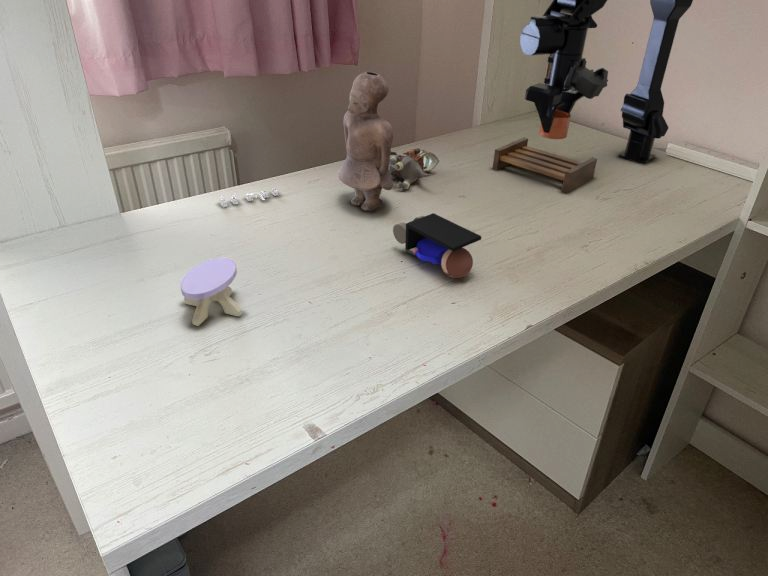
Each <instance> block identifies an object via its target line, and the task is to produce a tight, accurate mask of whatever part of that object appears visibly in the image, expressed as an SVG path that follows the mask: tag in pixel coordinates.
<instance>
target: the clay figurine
mask: <svg viewBox="0 0 768 576" xmlns="http://www.w3.org/2000/svg"><path fill="white" fill-rule="evenodd" d="M388 93H389V84H388V82H387V80H386V79H385V78H384V77H383V76H382V75H381V74H379V73H377V72H374V71H365V72H362V73H360V74H358V75H357V76H356V77H355V78H354V80H353V82H352V87H351V90H350V92H349V99H348V100H349V103H348V107H347V111H346V112H345V113H344V116H343V121H342V122H343V130H344V131H343V133H344V140H345V148H346V158H345V159H344V162H343V163H342V165H341V166H340V168H339V170H338V172H337V175H338V179H339V181H340V182H341V183H342V184H344V186H345V185H346V186H348V187H349V188H352V189H354V193H355V194H354V196H353V198H352V199H351V201H350V202H351V204H352V205H353V206H360V208H361V210H363V211H368V212H371V211H374V210H375V209H377V208H378V207H381V206H382V205H383V204H384V200H383V199H382V198H380V197H381V193H382V189H383V190H385V191H391V190H393V187H394V181H393V180H392V178H391V175H390V171H389V168H388V165H389V160H390V152H391V151H392V145H393V140H394V130H393V127H392V125H391V123H390V122H388V121H387V120H386V119H384V118H383V117H381V116H380V115H379V114H378V105H379V104H380V103H381V102H382V101H383V100H385V98H386V97H387V96H388Z"/></svg>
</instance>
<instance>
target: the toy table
mask: <svg viewBox="0 0 768 576" xmlns="http://www.w3.org/2000/svg"><path fill="white" fill-rule="evenodd" d="M237 274H238V270H237V264H236V262H235V261H234V259H232V258H230V257H222V256H221V257H214V258H211V259H207V260H205V261H203V262H200V263H199V264H197V265H195V266H194V267H193V268H191V269H189V270H188V271H187V272H186V273H185V275H184V276H183V277H182V279H181V281H180V291H181V295H182V296H183V297H184V298H183V301H184V304H186V305H189V306H192V307H193V306H194V307H195V310H194V313H193V316H192V320H191V323H192V325H194V326H197V327H199V326H200V325H201V324H202V323H204V322H205V320H207V319H208V318H209V307H210V304H211V302H214V301H217V302H218V303H219V304H220V306H221V307H222V309H223V313H224V314H226V315H231V316H234V317H240V316H242V314H243V310H242V308H241V306H240V305H239V304H238V303H237V302H236V301H234V299H233V298H232V297H231V295H232V293H233V290H232V287H230V285H231V284H232V283H233V281H234V280H235V278H236V276H237Z"/></svg>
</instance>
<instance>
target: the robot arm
mask: <svg viewBox="0 0 768 576" xmlns="http://www.w3.org/2000/svg"><path fill="white" fill-rule="evenodd" d="M693 1H694V0H649V4H650V7H651V11H652V16H653V19H652V24H651V28H650V32H649V35H648V40H647V44H646V48H645V52H644V55H643V60H642V65H641V69H640V74H639V76H638V81H637V85H636V87H634V88H633V90H632V91H631V92H630V93H626V94H625V95H624V97H623V103H622V106H621V108H620V112H621V119H622V127H623V129H627V130H629V135H628V139H627V143H626V147H625V150H624V151H622V152H620V153H619V154H618V157H619V158H623V159H626V160H630V161H632V162H633V161H634V162H636V163H640V164H647V163H648V162H650V161H652V160H653V159H654V158H655V157H656V155H655V154H653V153H652V151H653V147H654V144H655V141H656V140H655V139H661V138H662V137H665V136H666V134H667V132H668V130H669V129H670V128H669V125H668V123H667V122H666V119H665V117H664V116H663V115H664V109H665V100H664V97H663V93H662V92H663V91H662V86H663V81H664V77H665V74H666V70H667V66H668V63H669V59H670V56H671V52H672V48H673V44H674V40H675V36H676V32H677V29H678V26H679V21H680V19H681V18H682V17H683V16H684V15H685V13H686V12H688V10H689V9H690V8H691V6H692V4H693ZM607 2H608V0H552V2H551V3H550V4H549V6H548V7H547V9H546V10H545V12H544V13H543V14H542V17H541V16H536V15H535V16H531V17H530V19H529V23H527V24H526V25H525V26H524V28H522V32H521V33H520V37H519V46H520V49H521V51H522V52H523V54H524V55H525V56H529V57H531V56H543V55H549V56H547V63H550V68H549V74H548V76H546V77H544V78H543V83H541V82H539V83H536V84H532V85H530V86H529V87H527V88H526V89H525V96H524V100H525V101H527V102H532V103H533V104H534V106H535V108H536V111H537V114H538V117H539V120H540V124H542V128H543V131H544V132H545V133H549V131H550V129H551V126H552V122H553V119H554V116H555V113H556V110H560V111H564V112H567V113H569V114H570V115H571V112H572V110H573V109H574V106H575V105H576V103H577V102H578V101H580V100H581V99H582V98H584V97H585V98H586V99H589V100H592V99H594V98H595V97H599V96H600V94H601V93H602V91H603V89H604V88H606V87H608V81H609V79H608V75H609V71H608V70H607V69H606V68H604V67H600V68H598V69H597V70H594V69H589V68H587V67H586V66H587V60H586V59H587V58H586V57H583V54H584V50H585V44H586V40H587V35H588V30H589V29H596V28H597V27H598V23H597V22H596V21H595V20H594V19H593V15H594V14H596V13H597V12H598V11H600V10H602V9H603V8H604V6H605V5H606V3H607Z"/></svg>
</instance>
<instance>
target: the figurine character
mask: <svg viewBox="0 0 768 576" xmlns="http://www.w3.org/2000/svg"><path fill="white" fill-rule="evenodd" d="M393 225H394V226H393V227H392V233H393V236H394V238H395V240H396V241H397V242H398V244H401V245H404V244H405V245H404V250H405V252H406V253H408V254H410V255H411V256H414V257H417V258H418V259H419V260H420V261H425V262H430V263H432V265H440V266H441V270H442V271H443V272H444V274H445V275H447V276H448V277H450V278H453V279H461V278H463V277H465V276H467V275H468V274H469V273H470V272H471V271H472V269H473V265H474V259H473V256H472V254H471V252H470V251H468V249H466V248H465V247H467V246H470V245H472V244H474V243H477V242H479V241H481V240H482V235H481V234H477V233H476V232H473V231H472V230H469V229H468V228H465V227H464V226H461V225H459V224H458V223H455V222H452V221H450V220H448V219H447V218H445V217H443V216H440V215H438V214H436V213H434V212H433V213H430V214H427V215H420V216H416V217H415V218H413V220H411V221H409V222H403V221H402V222H399V223H396V224H393Z"/></svg>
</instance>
